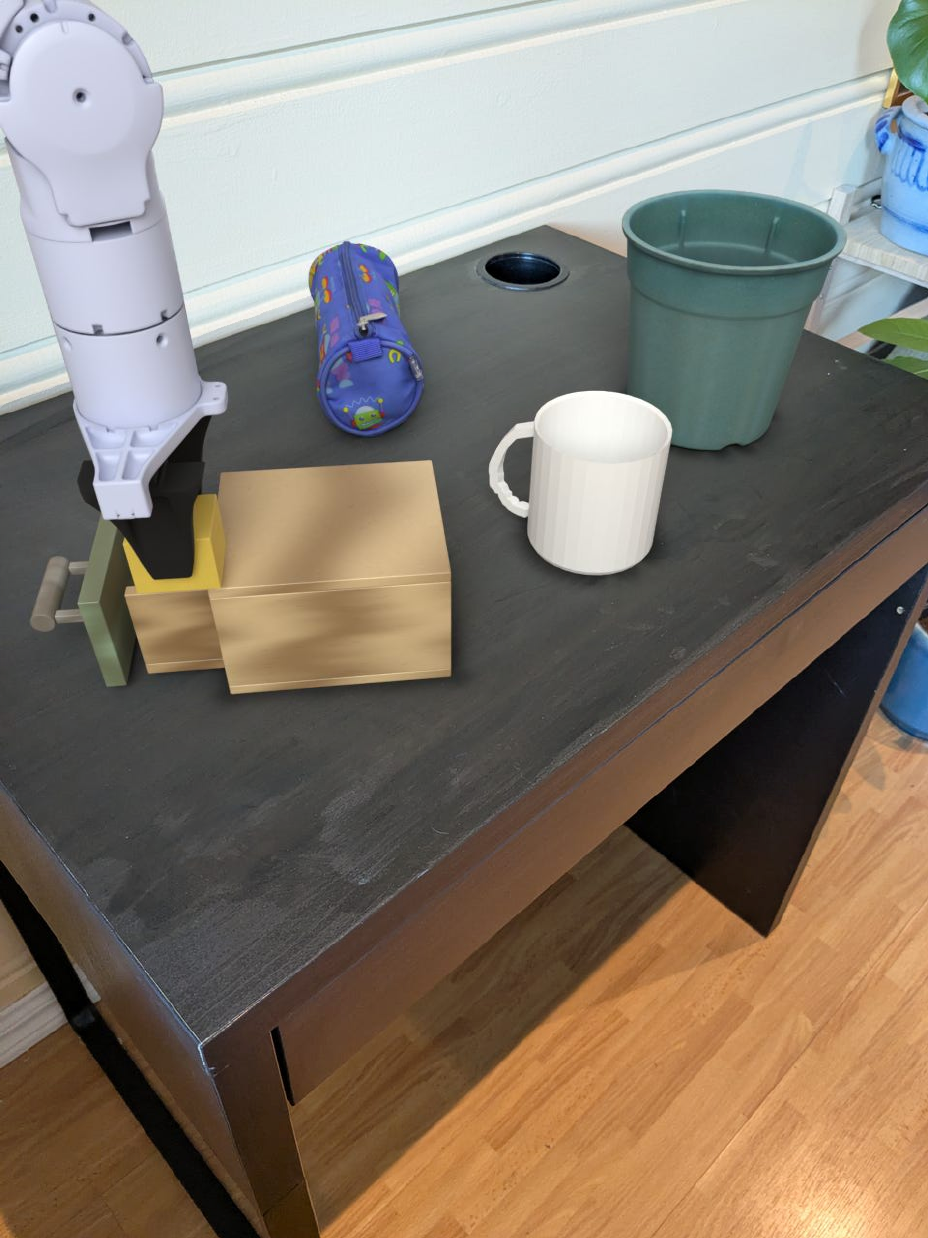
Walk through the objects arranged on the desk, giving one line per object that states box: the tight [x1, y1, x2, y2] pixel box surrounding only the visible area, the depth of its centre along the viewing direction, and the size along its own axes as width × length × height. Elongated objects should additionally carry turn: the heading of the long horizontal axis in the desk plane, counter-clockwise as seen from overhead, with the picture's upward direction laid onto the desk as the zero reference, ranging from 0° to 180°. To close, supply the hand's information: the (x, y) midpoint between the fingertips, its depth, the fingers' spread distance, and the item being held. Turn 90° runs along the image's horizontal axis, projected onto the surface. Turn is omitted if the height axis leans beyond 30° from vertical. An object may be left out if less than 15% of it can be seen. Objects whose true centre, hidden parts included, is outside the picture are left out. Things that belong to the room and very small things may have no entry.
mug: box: [488, 390, 672, 576], centre depth 67 cm, size 12×9×9 cm
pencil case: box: [307, 240, 425, 438], centre depth 83 cm, size 22×9×10 cm, turn 9°
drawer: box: [29, 496, 225, 688], centre depth 59 cm, size 16×10×7 cm, turn 97°
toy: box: [123, 493, 226, 594], centre depth 51 cm, size 4×4×5 cm
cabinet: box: [207, 459, 452, 695], centre depth 60 cm, size 13×11×8 cm
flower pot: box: [621, 188, 848, 451], centre depth 77 cm, size 16×16×16 cm
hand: (177, 547), depth 52 cm, fingers closed on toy, 4 cm apart
